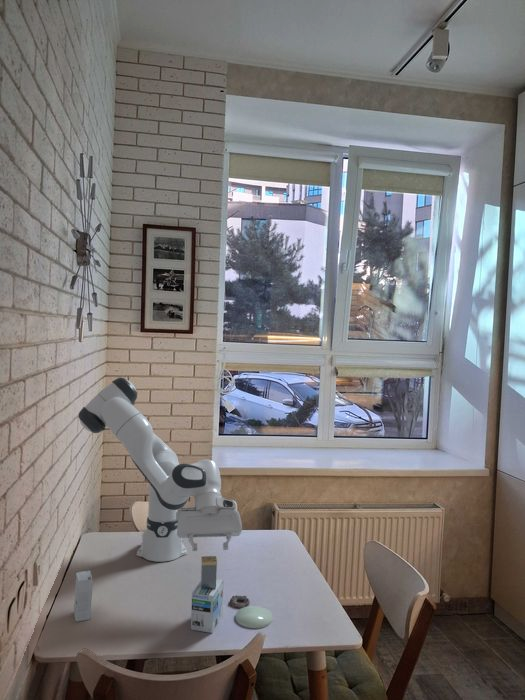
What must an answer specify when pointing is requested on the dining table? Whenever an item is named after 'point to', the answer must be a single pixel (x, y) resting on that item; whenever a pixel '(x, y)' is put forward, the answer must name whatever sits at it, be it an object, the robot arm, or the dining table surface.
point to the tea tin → (208, 572)
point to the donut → (241, 604)
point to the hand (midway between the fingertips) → (210, 549)
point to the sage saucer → (254, 617)
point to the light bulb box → (207, 607)
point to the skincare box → (83, 596)
